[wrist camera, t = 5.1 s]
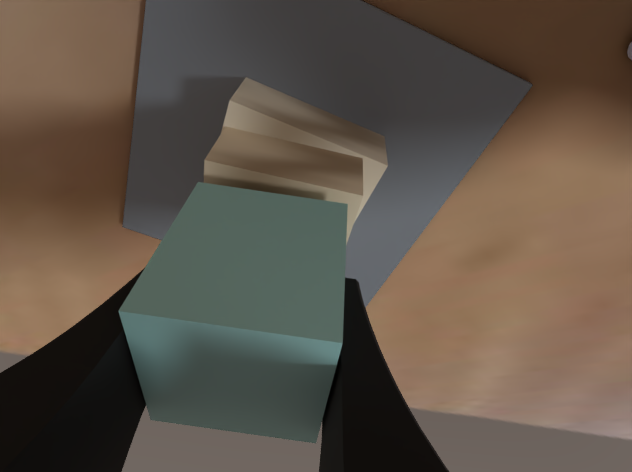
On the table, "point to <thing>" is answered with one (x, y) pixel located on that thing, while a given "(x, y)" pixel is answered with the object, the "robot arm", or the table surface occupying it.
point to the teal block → (242, 313)
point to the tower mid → (285, 169)
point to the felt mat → (322, 92)
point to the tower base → (306, 128)
